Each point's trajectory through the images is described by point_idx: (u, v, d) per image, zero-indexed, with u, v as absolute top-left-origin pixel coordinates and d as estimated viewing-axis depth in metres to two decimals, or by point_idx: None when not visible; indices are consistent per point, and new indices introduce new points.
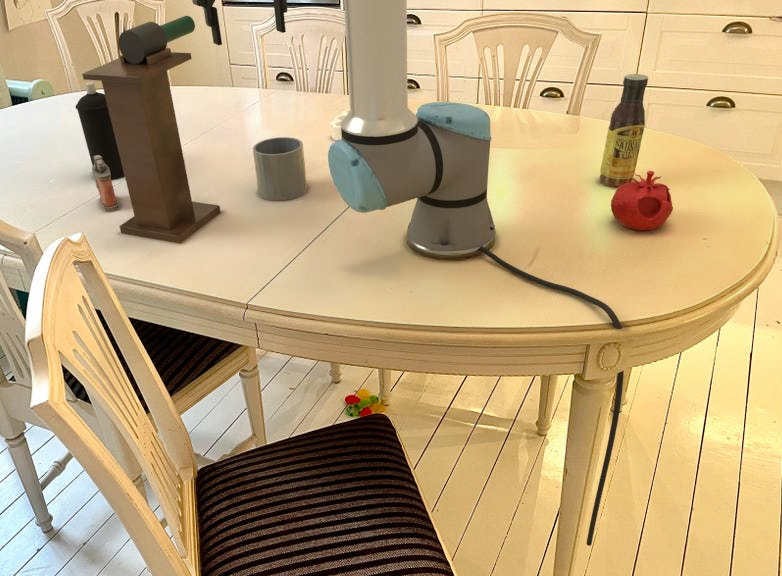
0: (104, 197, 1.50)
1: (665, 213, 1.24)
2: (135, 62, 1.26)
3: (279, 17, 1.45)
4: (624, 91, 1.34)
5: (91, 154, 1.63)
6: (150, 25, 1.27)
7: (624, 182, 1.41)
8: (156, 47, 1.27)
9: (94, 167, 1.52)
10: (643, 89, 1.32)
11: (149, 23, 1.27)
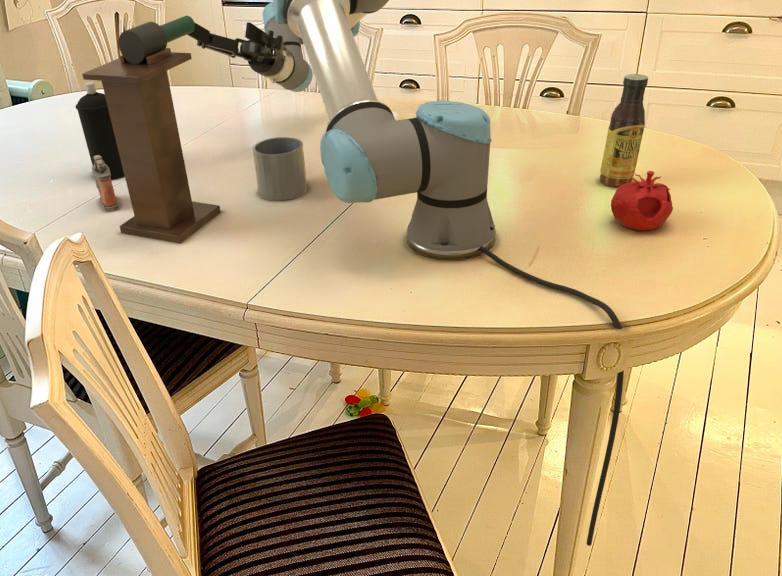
0: (104, 197, 1.50)
1: (665, 213, 1.24)
2: (135, 62, 1.26)
3: None
4: (624, 91, 1.34)
5: (91, 154, 1.63)
6: (150, 25, 1.27)
7: (624, 182, 1.41)
8: (156, 47, 1.27)
9: (94, 167, 1.52)
10: (643, 89, 1.32)
11: (149, 23, 1.27)
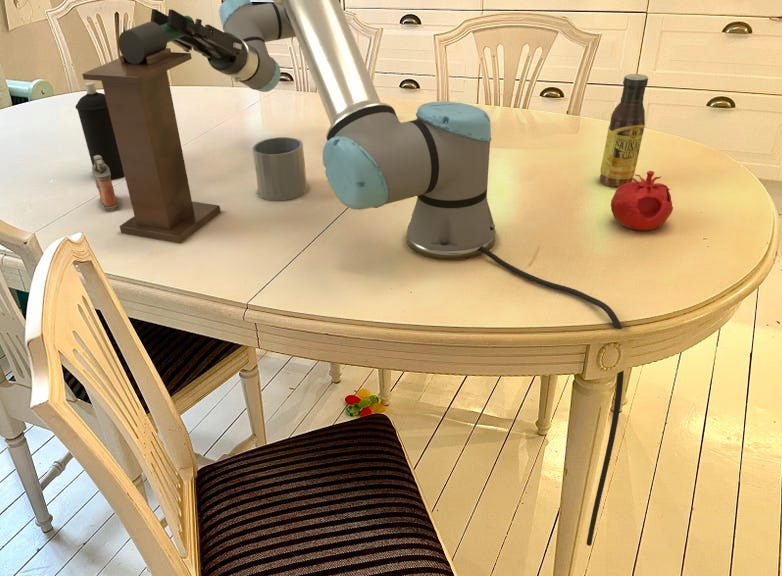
0: (104, 197, 1.50)
1: (665, 213, 1.24)
2: (135, 62, 1.26)
3: None
4: (624, 91, 1.34)
5: (91, 154, 1.63)
6: (150, 25, 1.27)
7: (624, 182, 1.41)
8: (156, 47, 1.27)
9: (94, 167, 1.52)
10: (643, 89, 1.32)
11: (149, 23, 1.27)
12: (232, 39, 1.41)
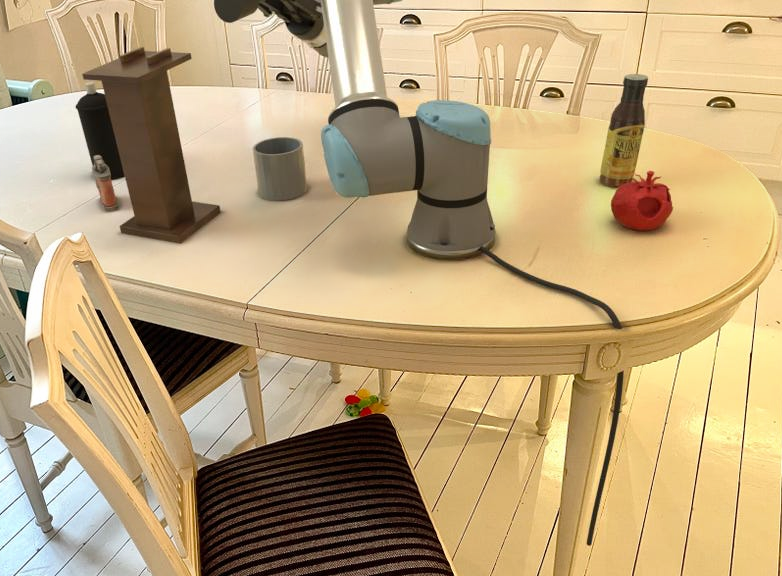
0: (104, 197, 1.50)
1: (665, 213, 1.24)
2: (230, 21, 1.30)
3: None
4: (624, 91, 1.34)
5: (91, 154, 1.63)
6: None
7: (624, 182, 1.41)
8: (250, 6, 1.30)
9: (94, 167, 1.52)
10: (643, 89, 1.32)
11: None
12: (315, 2, 1.44)
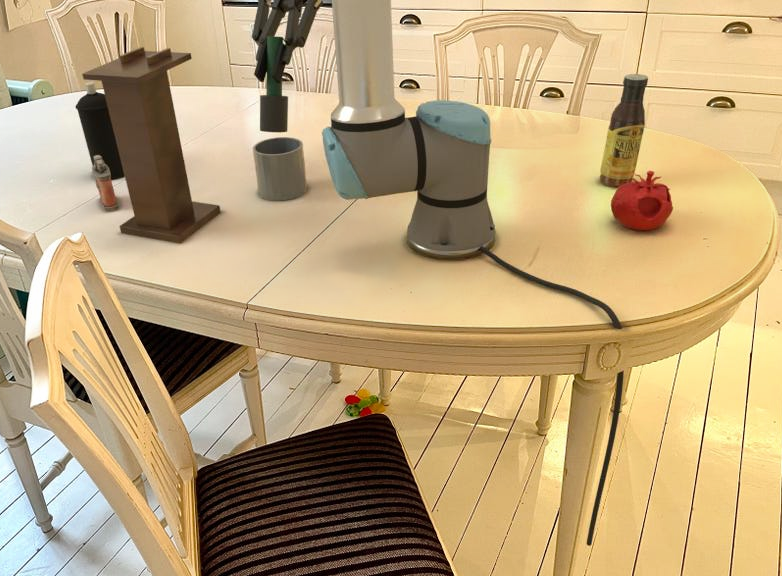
0: (104, 197, 1.50)
1: (665, 213, 1.24)
2: None
3: None
4: (624, 91, 1.34)
5: (91, 154, 1.63)
6: (272, 106, 1.41)
7: (624, 182, 1.41)
8: (287, 113, 1.43)
9: (94, 167, 1.52)
10: (643, 89, 1.32)
11: (269, 102, 1.41)
12: (312, 6, 1.37)
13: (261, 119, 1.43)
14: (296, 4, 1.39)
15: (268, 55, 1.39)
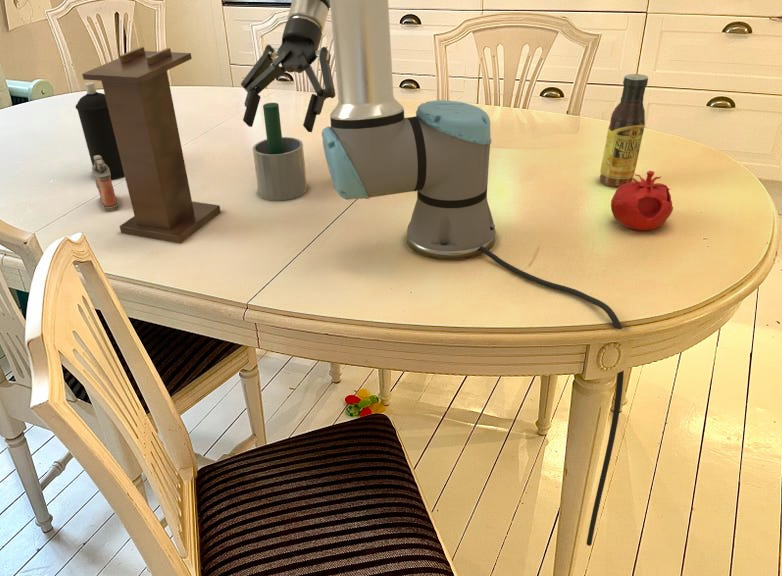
0: (104, 197, 1.50)
1: (665, 213, 1.24)
2: None
3: None
4: (624, 91, 1.34)
5: (91, 154, 1.63)
6: None
7: (624, 182, 1.41)
8: None
9: (94, 167, 1.52)
10: (643, 89, 1.32)
11: None
12: (326, 59, 1.43)
13: None
14: (307, 62, 1.45)
15: (266, 124, 1.44)
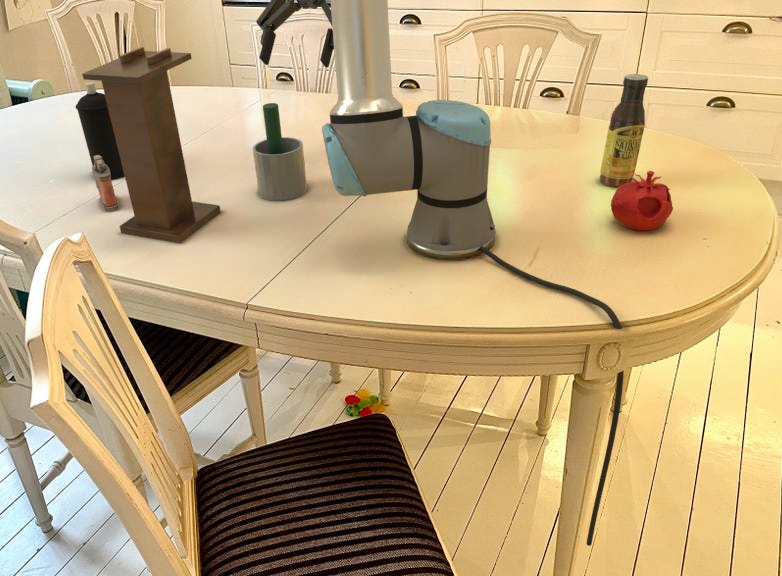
0: (104, 197, 1.50)
1: (665, 213, 1.24)
2: None
3: None
4: (624, 91, 1.34)
5: (91, 154, 1.63)
6: None
7: (624, 182, 1.41)
8: None
9: (94, 167, 1.52)
10: (643, 89, 1.32)
11: None
12: None
13: None
14: None
15: (266, 124, 1.43)
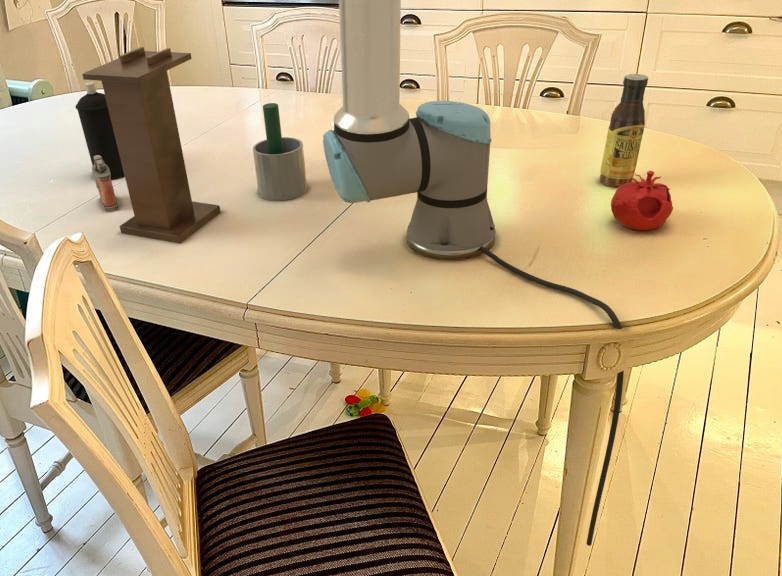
0: (104, 197, 1.50)
1: (665, 213, 1.24)
2: None
3: None
4: (624, 91, 1.34)
5: (91, 154, 1.63)
6: None
7: (624, 182, 1.41)
8: None
9: (94, 167, 1.52)
10: (643, 89, 1.32)
11: None
12: None
13: None
14: None
15: (266, 124, 1.43)
